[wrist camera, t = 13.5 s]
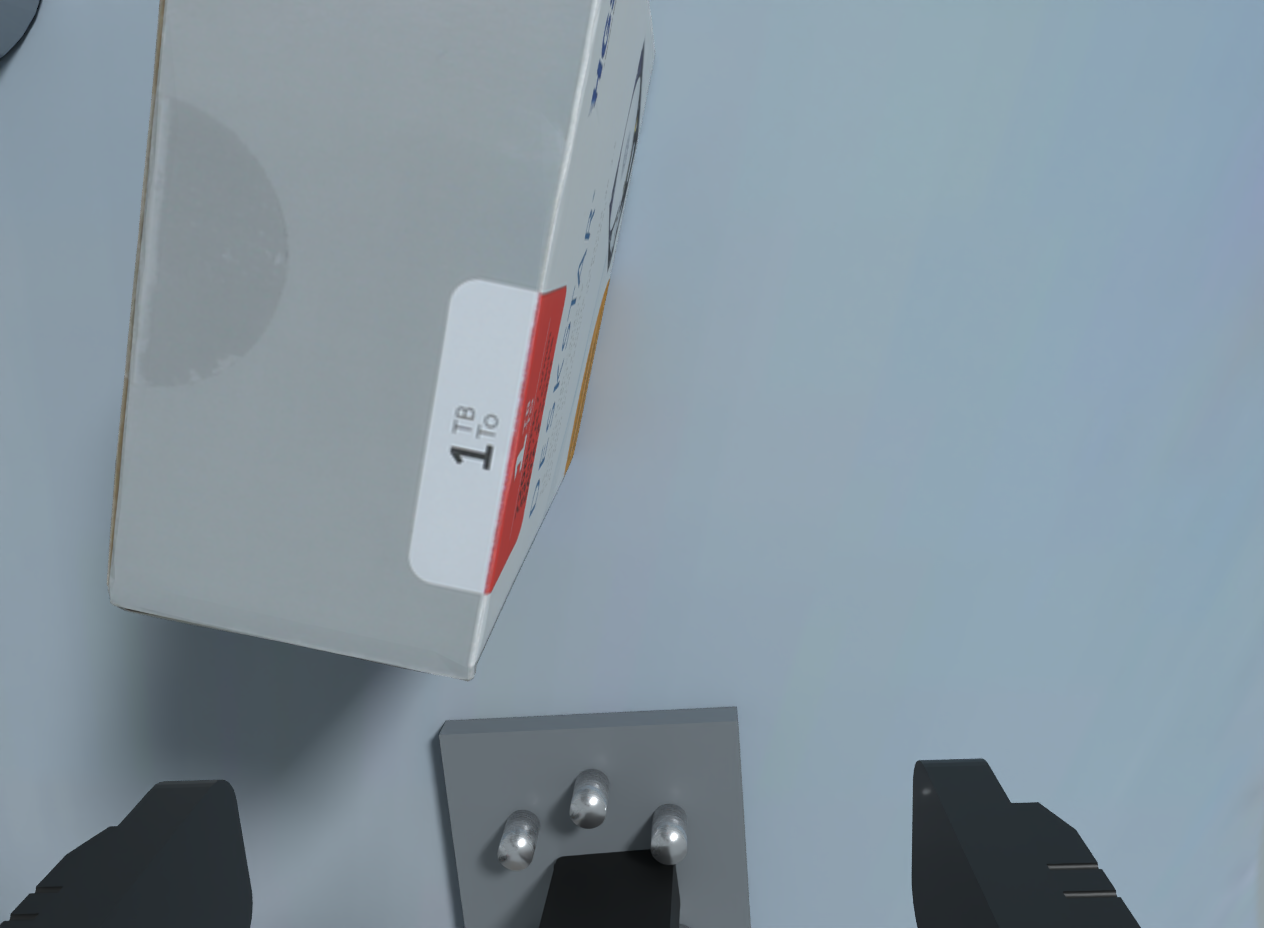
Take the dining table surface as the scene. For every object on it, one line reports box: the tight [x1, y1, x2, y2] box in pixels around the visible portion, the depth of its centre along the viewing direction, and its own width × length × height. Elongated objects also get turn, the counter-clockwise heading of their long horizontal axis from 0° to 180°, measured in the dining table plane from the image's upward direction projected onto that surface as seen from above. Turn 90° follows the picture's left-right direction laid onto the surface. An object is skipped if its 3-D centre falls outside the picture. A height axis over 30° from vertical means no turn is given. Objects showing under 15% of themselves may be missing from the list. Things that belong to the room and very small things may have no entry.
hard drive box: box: [107, 0, 655, 681], centre depth 27 cm, size 16×8×20 cm, turn 168°
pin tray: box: [439, 707, 751, 928], centre depth 41 cm, size 12×14×3 cm
